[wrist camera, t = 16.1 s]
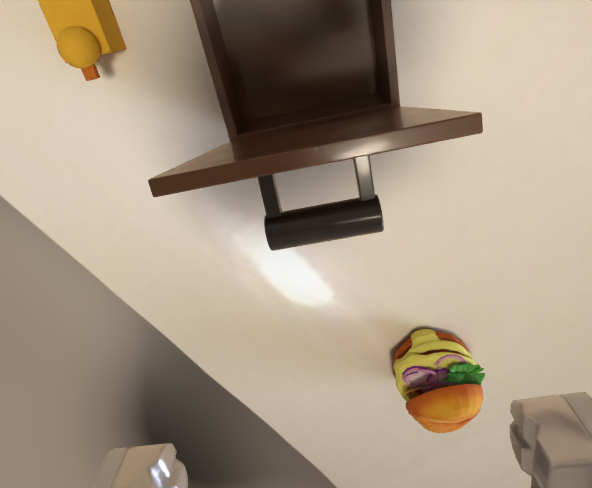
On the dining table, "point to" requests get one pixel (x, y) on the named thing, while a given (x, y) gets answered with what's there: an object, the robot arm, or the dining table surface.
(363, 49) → the chest
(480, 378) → the cheeseburger
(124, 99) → the dining table surface
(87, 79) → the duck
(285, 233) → the lid
